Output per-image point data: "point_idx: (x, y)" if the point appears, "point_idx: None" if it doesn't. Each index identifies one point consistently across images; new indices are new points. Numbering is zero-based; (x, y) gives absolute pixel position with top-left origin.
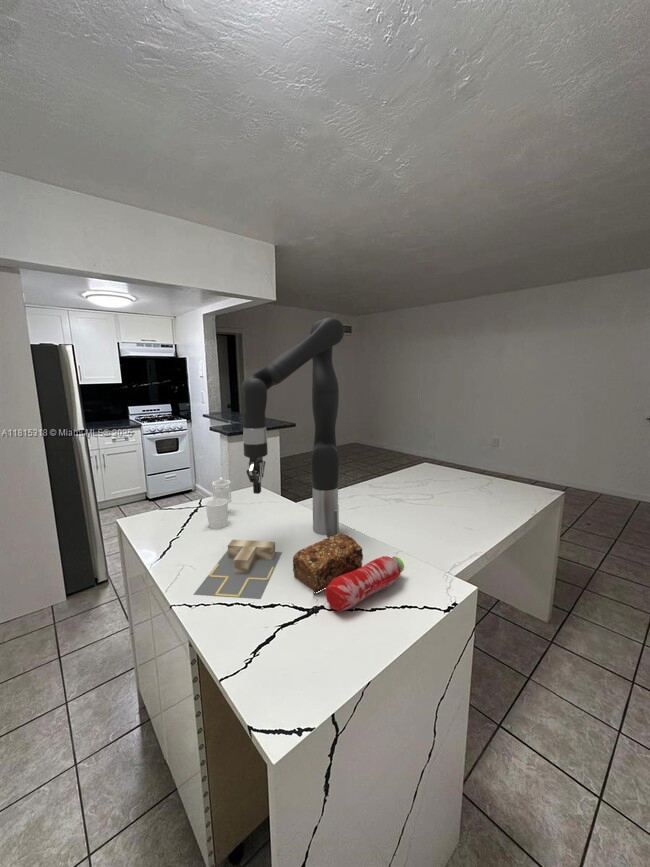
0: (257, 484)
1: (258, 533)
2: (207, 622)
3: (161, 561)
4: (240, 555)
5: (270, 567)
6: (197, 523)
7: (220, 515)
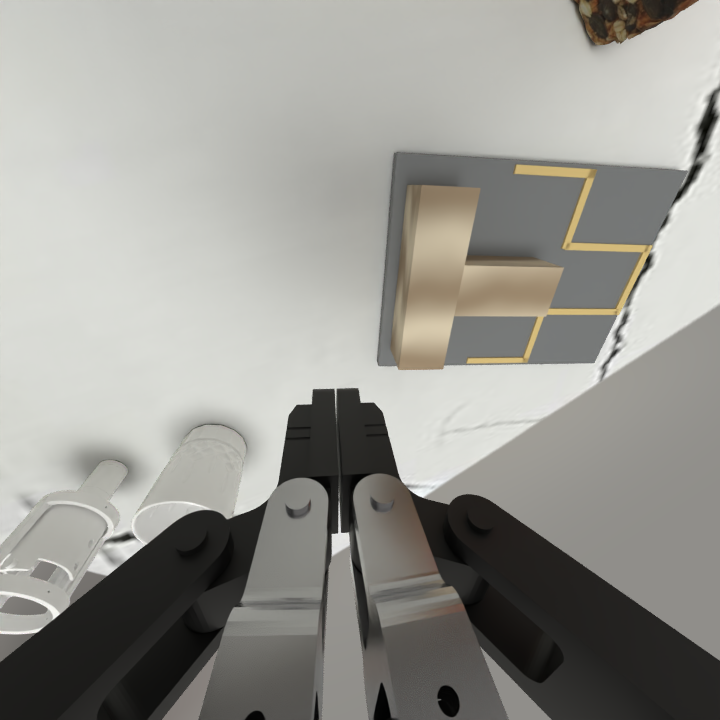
0: (397, 474)
1: (223, 307)
2: (691, 293)
3: (421, 478)
4: (522, 303)
5: (512, 181)
6: None
7: (224, 473)
